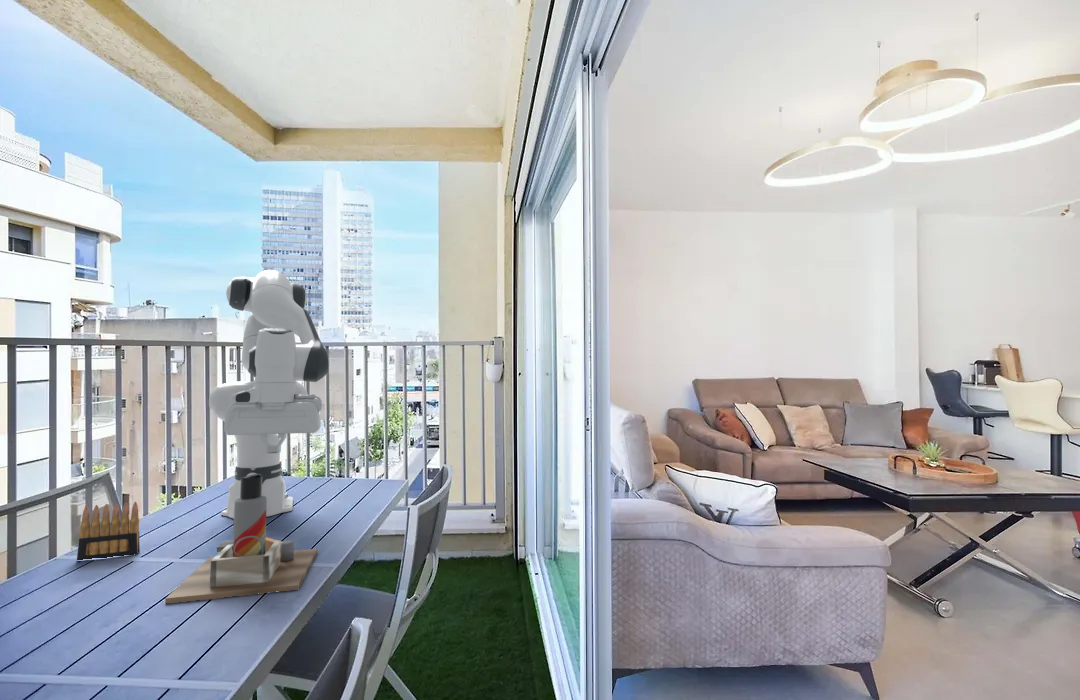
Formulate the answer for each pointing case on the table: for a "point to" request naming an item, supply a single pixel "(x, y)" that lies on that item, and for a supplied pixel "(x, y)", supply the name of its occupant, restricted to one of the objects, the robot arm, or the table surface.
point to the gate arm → (282, 548)
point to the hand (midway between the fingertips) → (273, 453)
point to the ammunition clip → (109, 533)
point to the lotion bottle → (250, 518)
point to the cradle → (243, 574)
